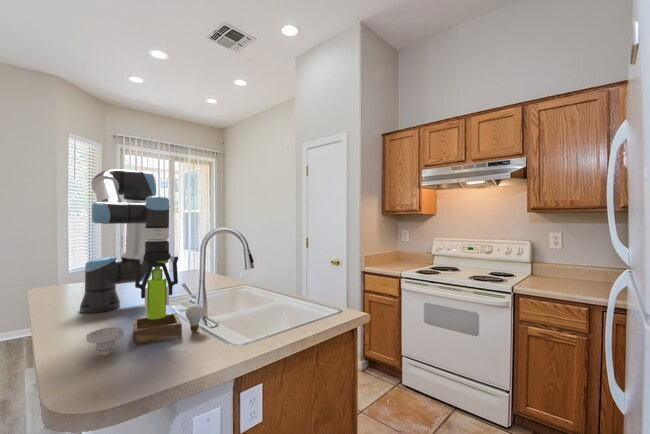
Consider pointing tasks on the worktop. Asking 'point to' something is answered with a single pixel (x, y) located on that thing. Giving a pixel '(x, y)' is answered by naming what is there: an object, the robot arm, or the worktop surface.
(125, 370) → the worktop surface
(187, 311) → the light bulb
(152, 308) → the soap dispenser
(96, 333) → the showerhead
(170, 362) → the worktop surface
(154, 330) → the wooden box
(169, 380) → the worktop surface
